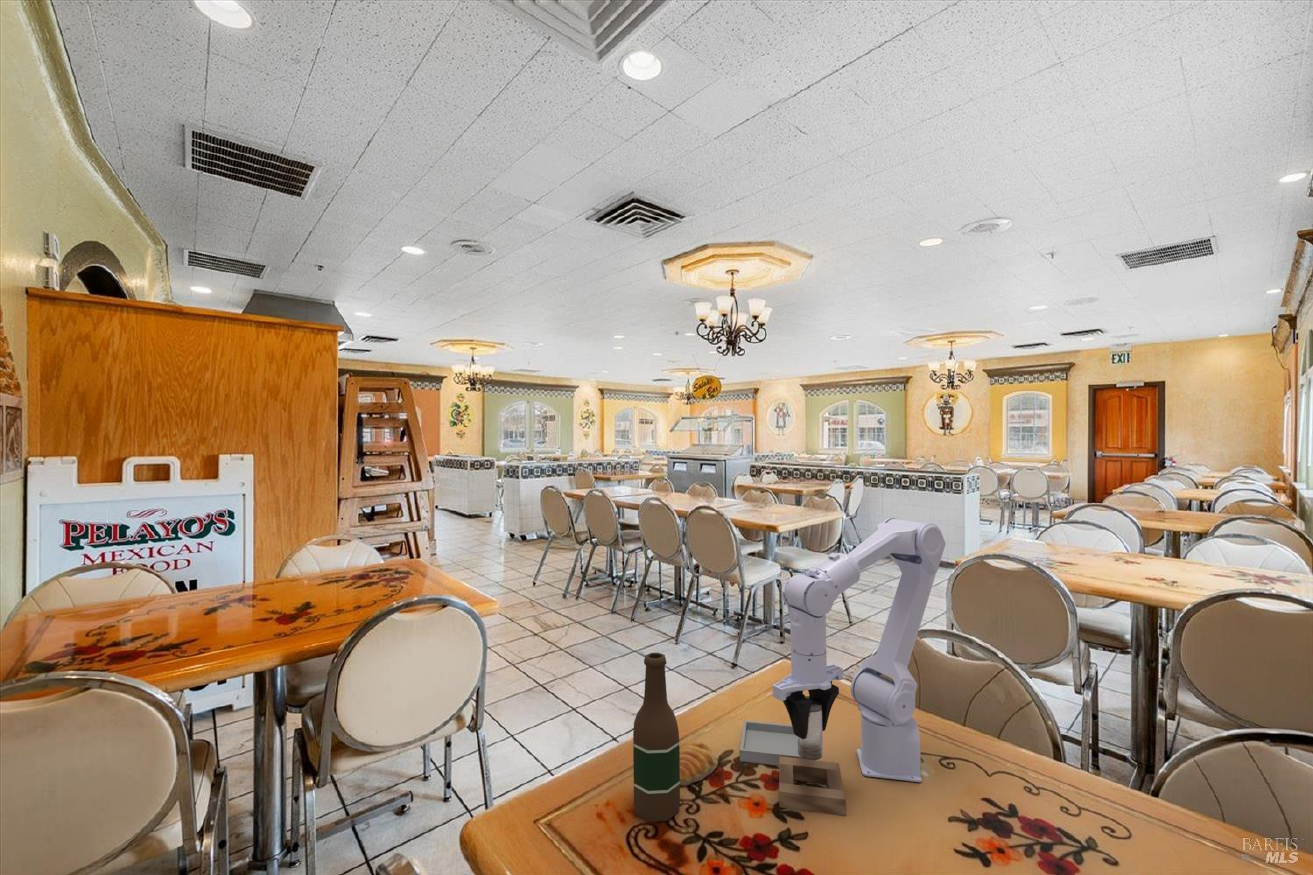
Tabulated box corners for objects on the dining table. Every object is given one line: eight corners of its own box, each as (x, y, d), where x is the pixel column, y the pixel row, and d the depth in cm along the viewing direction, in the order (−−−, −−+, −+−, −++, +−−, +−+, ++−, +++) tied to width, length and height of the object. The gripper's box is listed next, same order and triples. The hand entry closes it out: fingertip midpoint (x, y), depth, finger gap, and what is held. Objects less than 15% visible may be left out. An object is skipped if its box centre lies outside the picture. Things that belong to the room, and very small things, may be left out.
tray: (805, 736, 108) (805, 726, 108) (808, 768, 97) (808, 757, 97) (743, 730, 110) (743, 720, 110) (739, 761, 100) (739, 749, 100)
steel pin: (797, 745, 93) (796, 694, 93) (821, 748, 92) (821, 697, 92) (797, 758, 89) (797, 705, 89) (823, 761, 88) (822, 708, 88)
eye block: (838, 777, 94) (838, 762, 94) (845, 815, 85) (845, 799, 85) (779, 770, 97) (779, 756, 97) (779, 807, 87) (779, 791, 87)
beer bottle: (686, 797, 90) (685, 649, 90) (672, 828, 82) (671, 667, 82) (642, 787, 92) (640, 644, 92) (624, 817, 85) (623, 661, 85)
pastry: (691, 795, 90) (690, 771, 91) (658, 780, 95) (658, 758, 95) (720, 767, 98) (720, 746, 98) (689, 755, 102) (688, 734, 102)
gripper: (795, 667, 84) (796, 757, 84) (857, 647, 91) (858, 729, 91) (763, 653, 90) (764, 736, 89) (823, 635, 97) (824, 712, 97)
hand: (809, 732), depth 91 cm, fingers closed on steel pin, 4 cm apart
